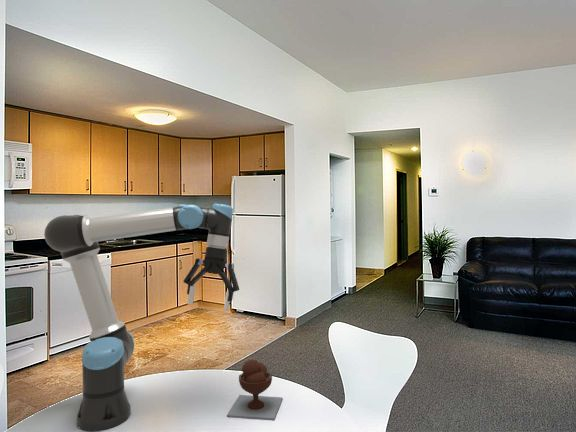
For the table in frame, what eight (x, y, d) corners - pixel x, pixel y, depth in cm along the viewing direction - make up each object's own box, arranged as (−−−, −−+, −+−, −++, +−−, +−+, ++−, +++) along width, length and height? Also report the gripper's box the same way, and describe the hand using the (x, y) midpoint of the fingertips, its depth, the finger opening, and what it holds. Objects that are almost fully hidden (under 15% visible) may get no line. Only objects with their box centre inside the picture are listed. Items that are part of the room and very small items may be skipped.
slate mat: (226, 416, 124) (226, 414, 124) (239, 396, 138) (239, 394, 138) (274, 420, 122) (274, 418, 122) (282, 399, 136) (282, 397, 136)
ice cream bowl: (268, 415, 124) (267, 366, 124) (234, 412, 126) (233, 364, 126) (276, 399, 134) (275, 354, 134) (244, 396, 137) (243, 352, 136)
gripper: (253, 252, 145) (244, 312, 143) (189, 243, 150) (180, 300, 148) (246, 251, 137) (237, 314, 135) (180, 242, 143) (170, 302, 141)
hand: (207, 307), depth 142 cm, fingers open, 13 cm apart
